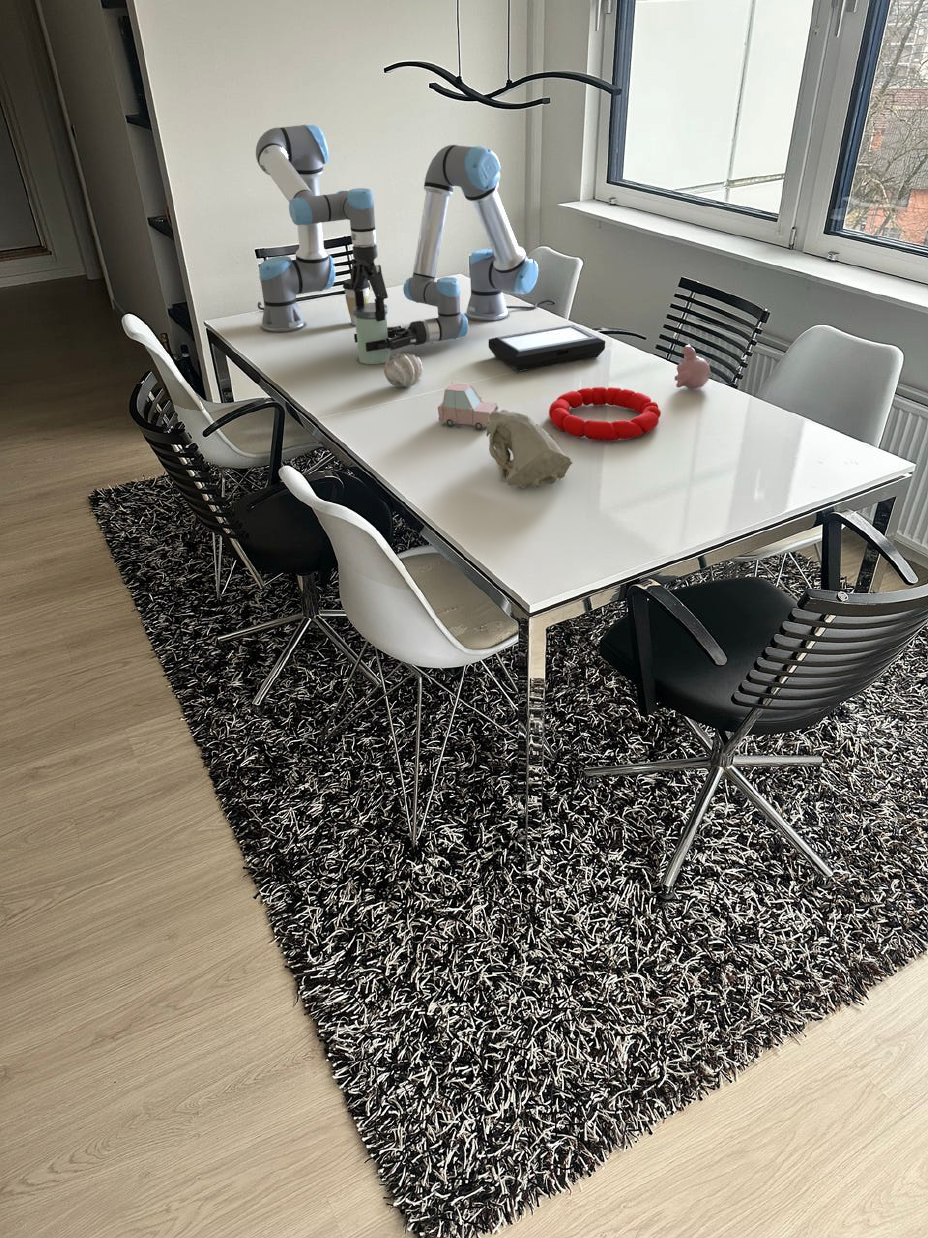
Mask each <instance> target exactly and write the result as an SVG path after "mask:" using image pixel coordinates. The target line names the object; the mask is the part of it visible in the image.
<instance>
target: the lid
mask: <svg viewBox="0 0 928 1238" xmlns="http://www.w3.org/2000/svg"><path fill="white" fill-rule="evenodd" d="M384 312H385V315H386V316H387V315H388V306H387V304H385V303H384ZM353 315H354V316H356V317H359V318H376V308H375V302H369V303H363V304H359V305H356V306H354V307H353Z"/></svg>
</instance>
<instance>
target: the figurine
mask: <svg viewBox="0 0 928 1238" xmlns="http://www.w3.org/2000/svg"><path fill="white" fill-rule="evenodd" d="M682 354H683V358H684V359H683V361H682V362H679V363H678V364H677V365H676V372H677V375H675V376H674V381H675V382H676V381H677V382H676V384H675V386H676V388H681V387H686V388H688V389H693V390H694V389H695V390H696V389H700V388H703V387H704V386H705V385H706V384H707V383H708V382H709V379H710V377H711V367H710V364H709V362H708V361H706V359H704V358H702V357H700V356H697V353H696V350H695V349H694V347H692V345H690V344H686V345H685V346H684V347H683V348H682Z"/></svg>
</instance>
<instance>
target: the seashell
mask: <svg viewBox="0 0 928 1238" xmlns="http://www.w3.org/2000/svg"><path fill="white" fill-rule="evenodd" d="M383 368H384V369H383V374H384V376H385V378H386V380H387V381H388V383H389V384H391V385H392V386H394V387H397V388H399V387H402V386H403V387H411V386H414V385H415V384H417V382H418V381H419V380H420V378H421V377H422V375H423V372H424V371H423V370H424V369H423V363H422V361H421V358H420V357H419V356H415V354H414V353H412V354H411V353H404V352H401V353H400V352H398V353H396V355H389V358H388V359H387V361H386V362H384V367H383Z"/></svg>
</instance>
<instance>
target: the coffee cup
mask: <svg viewBox="0 0 928 1238" xmlns="http://www.w3.org/2000/svg"><path fill="white" fill-rule="evenodd" d="M350 280H351V277H350V278H347V279H345V280H344V281H343V285H342V288H343V290H344V297H345V301H346V305H347V310H348V314H349V318H350V323H351V325H353V326H356V322H355V316H354V315H353V307H354V306H356V302H355V291H353V288H350ZM353 284H354V283H353ZM370 287H371V284H370V282H369V280H367V278H365V279H364V282H363V286H362V288H363V290H360V291H363V296H364V303H370Z"/></svg>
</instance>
